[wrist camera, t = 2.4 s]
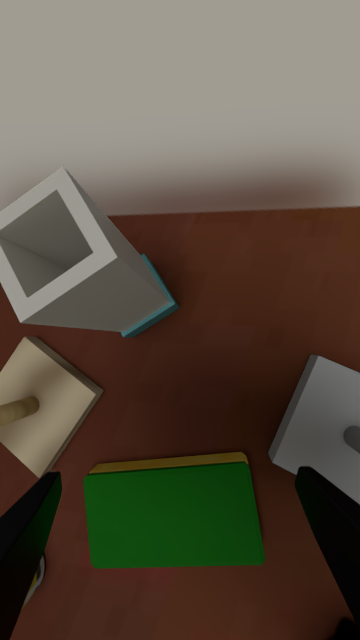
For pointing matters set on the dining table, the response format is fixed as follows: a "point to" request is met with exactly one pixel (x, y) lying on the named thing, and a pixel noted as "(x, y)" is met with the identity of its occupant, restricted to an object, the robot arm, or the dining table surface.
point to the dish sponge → (173, 513)
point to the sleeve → (75, 264)
